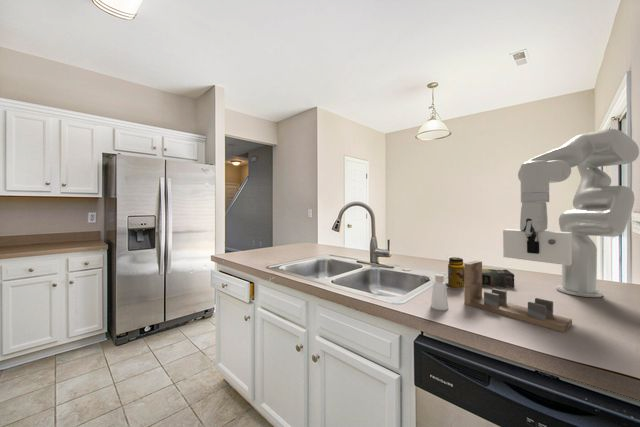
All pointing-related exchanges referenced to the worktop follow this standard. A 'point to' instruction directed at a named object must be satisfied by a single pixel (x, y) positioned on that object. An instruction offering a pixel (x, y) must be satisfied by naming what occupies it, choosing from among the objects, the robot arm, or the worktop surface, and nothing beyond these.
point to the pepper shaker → (439, 293)
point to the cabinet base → (497, 303)
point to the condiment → (455, 273)
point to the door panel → (550, 246)
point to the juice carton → (497, 278)
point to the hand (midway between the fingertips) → (535, 251)
